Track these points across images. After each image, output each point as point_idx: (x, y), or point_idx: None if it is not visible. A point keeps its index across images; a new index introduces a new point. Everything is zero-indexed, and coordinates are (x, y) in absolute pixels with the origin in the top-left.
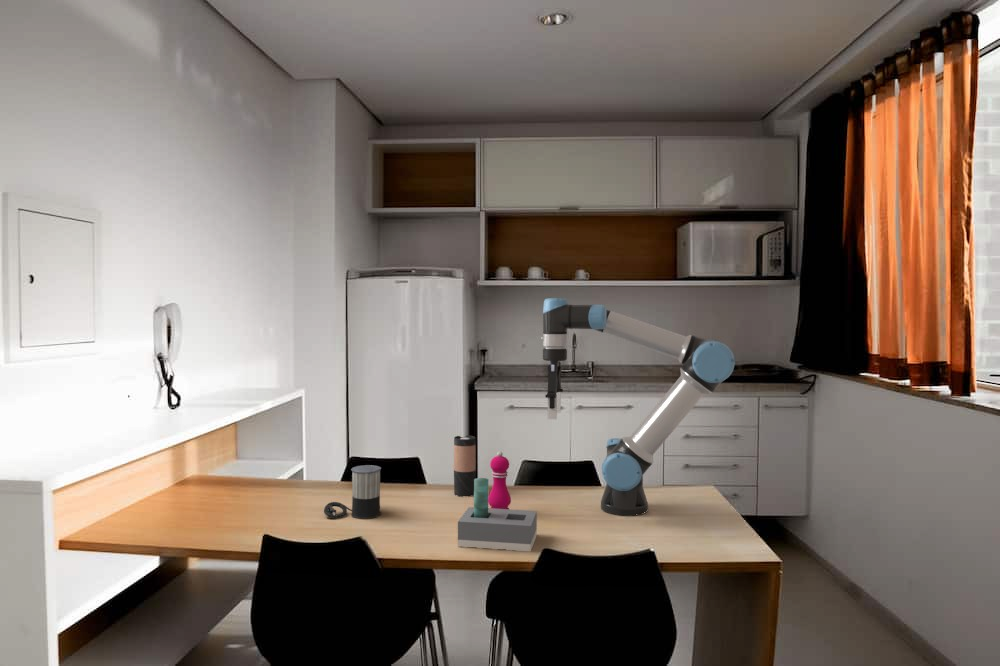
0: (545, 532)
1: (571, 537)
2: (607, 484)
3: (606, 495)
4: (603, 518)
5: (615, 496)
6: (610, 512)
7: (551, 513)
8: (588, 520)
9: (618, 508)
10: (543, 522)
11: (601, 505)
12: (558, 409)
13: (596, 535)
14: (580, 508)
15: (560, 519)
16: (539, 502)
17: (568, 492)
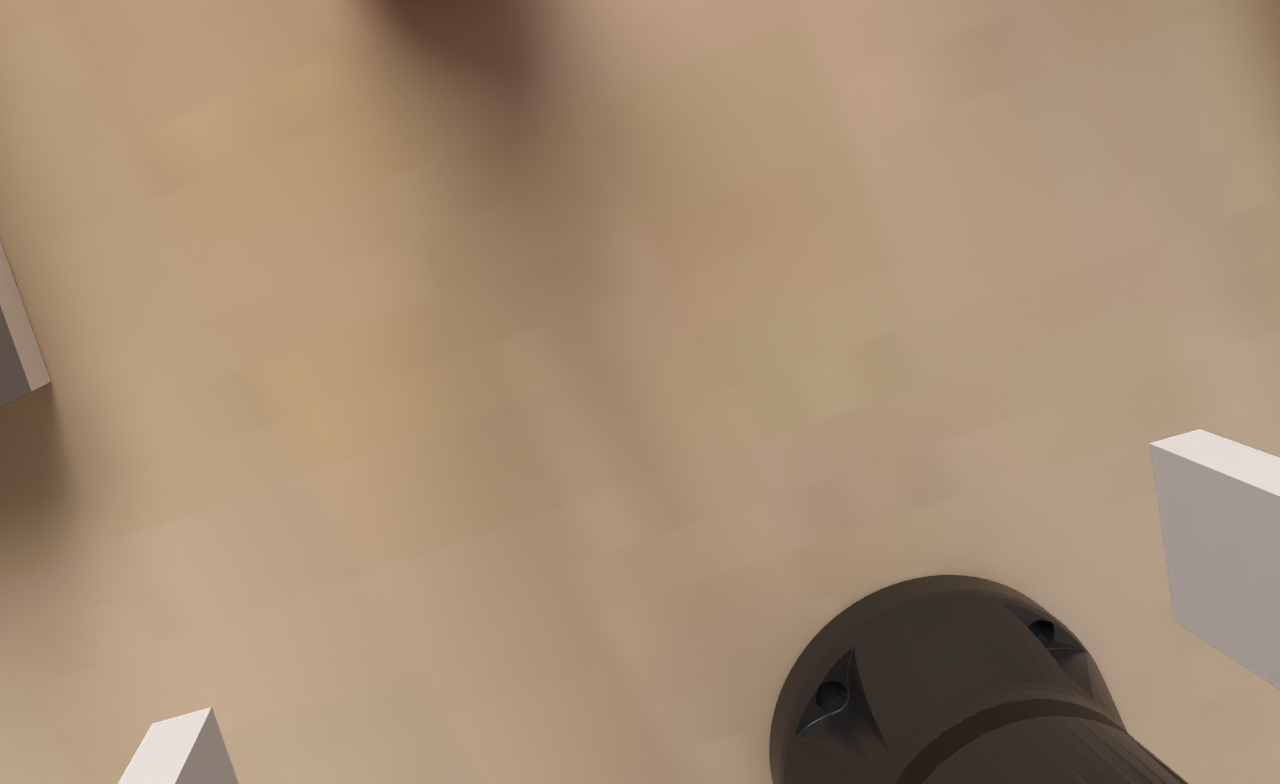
0: (146, 417)
1: (133, 620)
2: (943, 724)
3: (876, 690)
4: (660, 673)
5: (836, 777)
6: (783, 690)
7: (620, 293)
8: (569, 597)
9: (783, 766)
10: (371, 318)
11: (871, 609)
12: (1216, 610)
13: (263, 751)
14: (835, 450)
15: (502, 408)
16: (871, 97)
17: (1230, 220)
